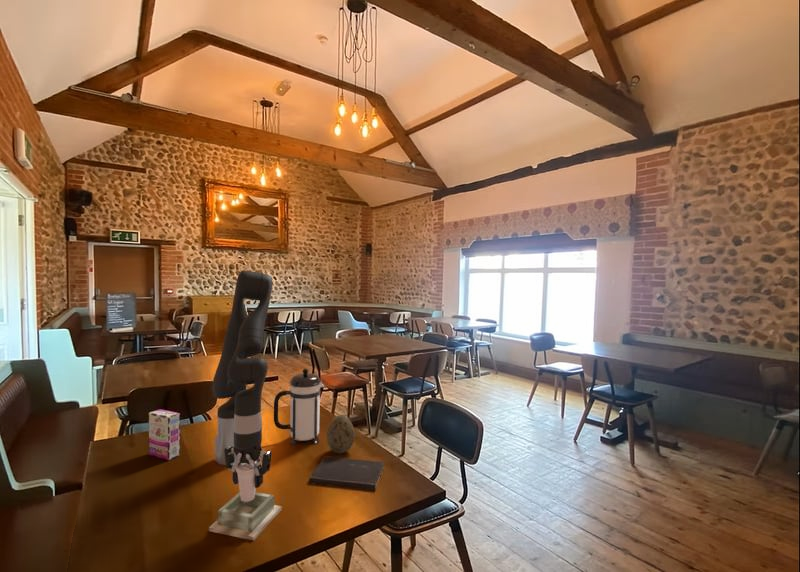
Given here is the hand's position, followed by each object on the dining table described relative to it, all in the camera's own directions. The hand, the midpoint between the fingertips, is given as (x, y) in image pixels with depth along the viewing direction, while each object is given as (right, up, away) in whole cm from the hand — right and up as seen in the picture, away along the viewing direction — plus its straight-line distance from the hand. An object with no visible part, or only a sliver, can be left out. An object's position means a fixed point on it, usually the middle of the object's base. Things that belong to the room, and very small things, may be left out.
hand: (247, 484), depth 113 cm
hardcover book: (+25, -10, +26) cm, 38 cm away
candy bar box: (-46, -8, +37) cm, 60 cm away
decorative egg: (+20, -9, +43) cm, 48 cm away
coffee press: (+2, -8, +53) cm, 54 cm away
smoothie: (0, -4, 0) cm, 4 cm away
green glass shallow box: (0, -10, 0) cm, 10 cm away
